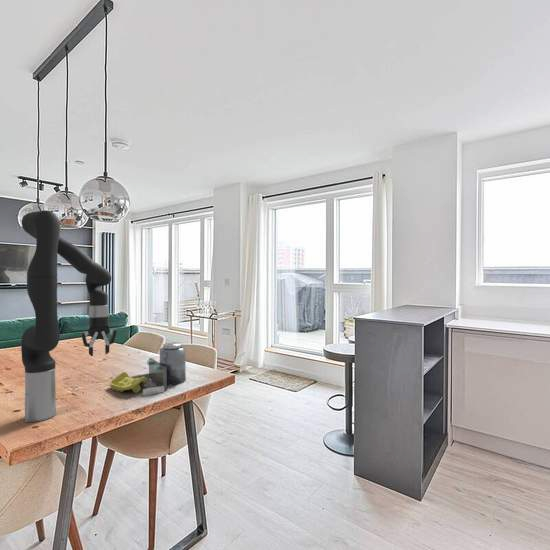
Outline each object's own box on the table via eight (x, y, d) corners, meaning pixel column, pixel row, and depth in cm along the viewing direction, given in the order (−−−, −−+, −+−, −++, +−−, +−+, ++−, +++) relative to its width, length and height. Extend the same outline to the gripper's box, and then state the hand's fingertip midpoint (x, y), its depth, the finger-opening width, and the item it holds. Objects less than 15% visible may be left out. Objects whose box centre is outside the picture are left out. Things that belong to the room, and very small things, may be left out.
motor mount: (143, 396, 145) (142, 353, 145) (129, 381, 166) (129, 344, 166) (194, 385, 158) (194, 346, 158) (176, 373, 179) (175, 338, 179)
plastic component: (107, 383, 155) (126, 369, 162) (115, 396, 157) (133, 382, 164) (127, 389, 142) (146, 373, 149) (135, 403, 144) (154, 387, 151)
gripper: (80, 317, 140) (81, 359, 140) (118, 315, 148) (118, 354, 148) (79, 316, 146) (79, 355, 146) (115, 313, 154) (115, 351, 154)
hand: (99, 354), depth 147 cm, fingers open, 5 cm apart
